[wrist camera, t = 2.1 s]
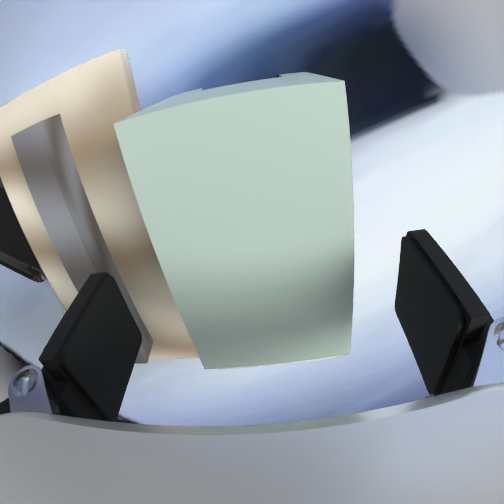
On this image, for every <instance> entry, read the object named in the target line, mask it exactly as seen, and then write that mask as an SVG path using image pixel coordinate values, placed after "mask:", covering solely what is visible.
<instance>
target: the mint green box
mask: <svg viewBox="0 0 504 504" xmlns="http://www.w3.org/2000/svg"><path fill="white" fill-rule="evenodd" d="M114 128H115V132H116V135H117V139H118V142H119V145H120V149H121V152H122V155H123V159H124V162H125V165H126V168H127V172H128V175H129V178H130V181H131V184H132V187H133V190H134V193H135V196H136V199H137V202H138V205H139V208H140V211H141V214H142V217H143V220H144V222H145V225H146V228H147V231H148V234H149V236H150V239H151V242H152V245H153V247H154V250H155V253H156V255H157V258H158V260H159V263H160V266H161V268H162V271H163V273H164V276H165V278H166V281H167V283H168V286H169V288H170V291H171V293H172V296H173V298H174V301H175V303H176V305H177V308H178V310H179V313H180V315H181V317H182V320H183V322H184V324H185V327H186V329H187V331H188V333H189V336H190V338H191V340H192V343H193V345H194V347H195V349H196V351H197V354H198V356H199V358H200V360H201V362H202V364H203V367H204V369H217V368H218V369H233V368H247V367H259V366H269V365H279V364H289V363H297V362H305V361H313V360H320V359H328V358H334V357H339V356H341V355H347V354H350V347H351V332H352V314H353V288H354V202H353V176H352V158H351V143H350V130H349V119H348V108H347V99H346V90H345V81H342V80H338V79H334V78H330V77H326V76H321V75H317V74H312V73H307V72H299V73H290V74H281V75H279V77H278V78H270V79H263V80H256V81H250V82H244V83H238V84H232V85H227V86H222V87H217V88H212V89H207V90H202V88H200V89H195V90H191V91H187V92H183V93H179V94H176V95H173V96H171V97H169V98H167V99H164V100H162V101H160V102H158V103H155V104H153V105H151V106H149V107H147V108H145V109H142V110H140V111H138V112H136V113H134V114H132V115H130V116H128V117H126V118H124V119H122V120H120V121H118V122H116V123H114Z"/></svg>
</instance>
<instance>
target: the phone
mask: <svg viewBox="0 0 504 504" xmlns="http://www.w3.org/2000/svg"><path fill="white" fill-rule="evenodd" d="M0 264H1V265H3V266H5V267H7V268H9V269H11V270H13V271H15V272H17V273H19V274H21V275H23V276H25V277H27V278H29V279H31V280H33V281H36V282H43V281H44V280H45V279H46V278H47V277H46V275H45V274H44V272H43V270H42V268H41V266H40V264H39V262H38V260H37V258H36V256H35V255H34V253H33V251H32V249H31V247H30V245H29V242H28V240H27V238H26V236H25V234H24V232H23V230H22V228H21V226H20V223H19V221H18V219H17V217H16V214H15V212H14V210H13V207H12V205H11V203H10V200H9V198H8V195H7V193H6V190H5V188H4V185H3V182H2V180H1V177H0Z"/></svg>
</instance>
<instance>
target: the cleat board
mask: <svg viewBox="0 0 504 504" xmlns="http://www.w3.org/2000/svg"><path fill="white" fill-rule="evenodd" d="M138 111H140V106H139V102H138V98H137V94H136V90H135V85H134V81H133V77H132V73H131V68H130V64H129V60H128V55H127V51H126V49H117V50H114V51H112V52H109V53H107V54H104V55H102V56H99V57H97V58H94V59H92V60H89V61H87V62H85V63H83V64H80V65H78V66H76V67H74V68H71V69H69V70H67V71H65V72H63V73H61V74H59V75H57V76H55V77H53V78H51V79H49V80H47V81H45V82H43V83H41V84H39V85H37V86H36V87H34V88H32V89H30V90H28V91H26V92H25V93H23V94H21V95H19V96H18V97H16V98H14V99H13V100H11V101H9V102H8V103H6V104H5V105H3V106H1V107H0V177H1V180H2V182H3V185H4V188H5V190H6V193H7V195H8V198H9V200H10V203H11V205H12V207H13V210H14V212H15V214H16V217H17V219H18V221H19V223H20V226H21V228H22V230H23V232H24V234H25V236H26V238H27V240H28V242H29V245H30V247H31V249H32V251H33V253H34V255H35V256H36V258H37V260H38V262H39V264H40V266H41V268H42V270H43V272H44V274H45V275H46V277H47V279H48V281H49V283H50V284H51V286H52V288H53V290H54V291H55V293H56V295H57V296H58V298H59V300H60V302H61V303H62V305H63V306H64V308H65V310H66V311H67V310H68V308H69V307H70V305H71V303H72V302H73V300H74V299H75V297H76V296H77V294H78V293H79V291H80V289H81V288H82V286H83V285H84V283H85V282H86V280H87V279H88V277H89V276H90V275H91V274H93V273H101V272H107V273H109V274H110V276H113V277H114V278H115V280H116V282H117V285H118V287H119V289H120V291H121V293H122V295H123V297H124V299H125V301H126V304H127V306H128V308H129V310H130V312H131V314H132V316H133V318H134V320H135V322H136V324H137V326H138V327H139V329H140V331H141V334H142V344H141V347H140V349H139V352H138V355H137V358H136V361H135V363H147V362H148V359H179V358H199V356H198V354H197V351H196V349H195V347H194V345H193V343H192V340H191V338H190V336H189V333H188V331H187V329H186V327H185V324H184V322H183V320H182V317H181V315H180V313H179V310H178V308H177V305H176V303H175V301H174V298H173V296H172V293H171V291H170V288H169V286H168V283H167V281H166V278H165V276H164V273H163V271H162V268H161V266H160V263H159V260H158V258H157V255H156V253H155V250H154V247H153V245H152V242H151V239H150V236H149V234H148V231H147V228H146V225H145V222H144V220H143V217H142V214H141V211H140V208H139V205H138V202H137V199H136V196H135V193H134V190H133V187H132V184H131V181H130V178H129V175H128V172H127V168H126V165H125V162H124V159H123V155H122V152H121V149H120V145H119V142H118V139H117V135H116V132H115V128H114V123H116V122H118V121H120V120H122V119H124V118H126V117H128V116H130V115H132V114H134V113H136V112H138Z"/></svg>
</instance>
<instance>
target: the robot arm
mask: <svg viewBox="0 0 504 504" xmlns="http://www.w3.org/2000/svg"><path fill="white" fill-rule="evenodd" d="M395 311H396V314H397V317H398V319H399V321H400V324H401V326H402V328H403V330H404V333H405V335H406V337H407V340H408V342H409V345H410V347H411V350H412V352H413V354H414V357H415V359H416V362H417V364H418V367H419V369H420V372H421V375H422V377H423V380H424V383H425V385H426V388H427V390H428V393H429V394H434V397H430V398H426V399H422V400H418V401H413V402H409V403H405V404H400V405H395V406H391V407H386V408H381V409H376V410H371V411H366V412H360V413H354V414H349V415H342V416H336V417H329V418H322V419H314V420H306V421H296V422H286V423H275V424H261V425H244V426H161V425H143V424H130V423H119V422H113V421H114V420H116V419H117V416H118V413H119V410H120V407H121V404H122V400H123V397H124V394H125V391H126V388H127V385H128V382H129V379H130V376H131V373H132V370H133V367H134V364H135V361H136V358H137V355H138V352H139V349H140V347H141V344H142V334H141V331H140V329H139V327H138V326H137V324H136V322H135V320H134V318H133V316H132V314H131V312H130V310H129V308H128V306H127V304H126V301H125V299H124V297H123V295H122V293H121V291H120V289H119V287H118V285H117V282H116V280H115V278H114V277H113V276H110V274H109V273H107V272H101V273H93V274H91V275H90V276H89V277H88V279H87V280H86V282H85V283H84V285H83V286H82V288H81V289H80V291H79V293H78V294H77V296H76V297H75V299H74V300H73V302H72V303H71V305H70V307H69V308H68V310H67V311H66V313H65V315H64V316H63V318H62V320H61V321H60V323H59V325H58V326H57V328H56V330H55V331H54V333H53V335H52V336H51V338H50V340H49V341H48V343H47V345H46V347H45V348H44V350H43V352H42V354H41V356H40V357H39V361H40V362H41V363H42V365H43V368H42V370H41V369H40V368H39V367H38V366H35V365H30V366H26V367H24V368H22V369H20V370H19V371H18V372H17V373H16V374H15V375H14V376H13V378H12V379H11V381H10V384H9V387H8V394H9V398H7V399H6V400H4V401H3V402H1V403H0V504H504V318H500V319H497V320H495V321H494V320H493V319H492V317H491V315H490V313H489V312H488V310H487V309H486V307H485V306H484V304H483V303H482V302H481V300H480V299H479V297H478V296H477V294H476V293H475V292H474V290H473V289H472V288H471V286H470V285H469V283H468V282H467V281H466V279H465V278H464V277H463V275H462V274H461V273H460V271H459V270H458V269H457V268H456V266H455V265H454V264H453V262H452V261H451V260H450V259H449V257H448V256H447V255H446V254H445V252H444V251H443V250H442V249H441V247H440V246H439V245H438V244H437V242H436V241H435V240H434V239H433V238H432V236H431V235H430V234H429V233H428V232H427V231H426V230H425V229H422V230H415V231H408V232H407V234H406V236H405V237H402V240H401V252H400V263H399V273H398V283H397V291H396V299H395Z"/></svg>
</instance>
